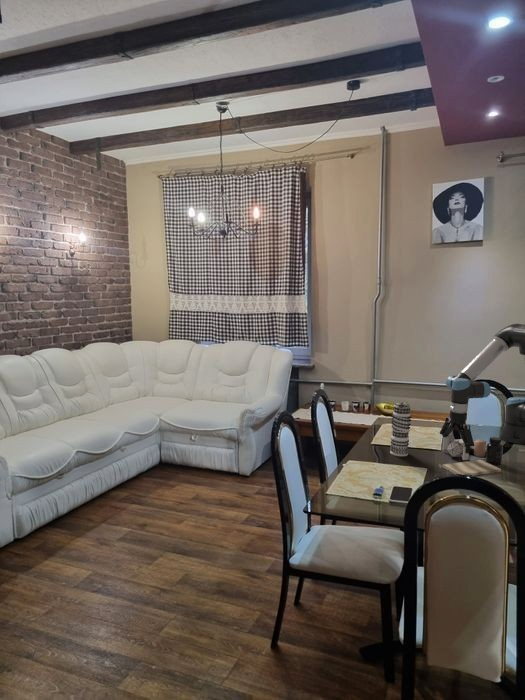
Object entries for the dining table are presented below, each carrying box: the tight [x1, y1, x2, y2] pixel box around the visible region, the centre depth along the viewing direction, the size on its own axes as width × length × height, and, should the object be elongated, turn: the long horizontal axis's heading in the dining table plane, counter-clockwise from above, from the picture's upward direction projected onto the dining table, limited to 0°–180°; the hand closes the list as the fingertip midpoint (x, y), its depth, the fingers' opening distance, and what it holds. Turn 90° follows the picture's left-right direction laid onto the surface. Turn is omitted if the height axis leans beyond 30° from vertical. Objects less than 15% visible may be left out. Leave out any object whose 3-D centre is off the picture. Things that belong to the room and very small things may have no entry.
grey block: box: [453, 438, 468, 447], centre depth 245 cm, size 5×5×5 cm
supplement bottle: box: [485, 436, 504, 467], centre depth 227 cm, size 7×7×12 cm
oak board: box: [441, 459, 502, 477], centre depth 220 cm, size 22×12×1 cm, turn 110°
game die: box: [444, 439, 463, 459], centre depth 234 cm, size 9×8×10 cm
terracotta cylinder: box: [473, 439, 487, 458], centre depth 238 cm, size 5×5×7 cm
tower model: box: [389, 401, 412, 457], centre depth 236 cm, size 9×9×25 cm
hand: (454, 454), depth 235 cm, fingers open, 13 cm apart
